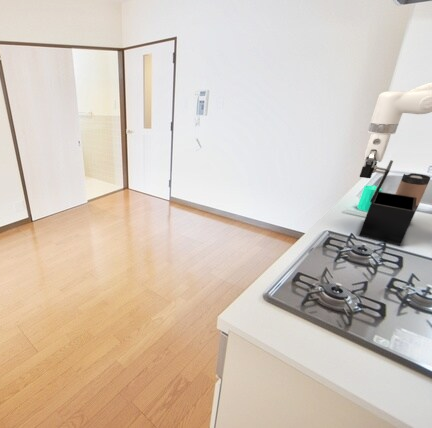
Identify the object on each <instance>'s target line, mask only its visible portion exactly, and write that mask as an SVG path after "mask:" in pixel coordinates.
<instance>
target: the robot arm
mask: <svg viewBox="0 0 432 428" xmlns="http://www.w3.org/2000/svg"><path fill="white" fill-rule="evenodd" d="M377 97H378V98H377V101H376V103H375V107H374V110H373V113H372V116H371V119H370V122H369V126H368V129H367V132H366V133H368V134H370V136H369V138H368V141H367V145H366V149H365V153H364V158H363V160H364V164H363V166H362V168H361V170H360V174H359V178H362V179H363V178H364V179H371V178H372V175H373V174H374V173H373V170H374V168H373V167H374V165H377V164H378V163H380V162H382V161H383V159H384V156H385V153H386V151H387V148H388V145H389V142H390V138H391V135H395V134H396V132H397V129H398V126H399V124H400V122H401V119H402V118H401V117H402V116H403V114H412V115H426V114H427V115H428V114H430V113H432V81H431V82H429V83H425V84H423V85H420V86H417V87H414V88H413V89H410V90H408V91H405V90H389V91H383V92H381V93H379V95H378V96H377Z"/></svg>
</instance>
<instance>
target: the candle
mask: <svg viewBox="0 0 432 428" xmlns="http://www.w3.org/2000/svg"><path fill="white" fill-rule="evenodd" d="M376 187H377V185H375V184H373V185H364V187H363V189H362V191H361V195H360V198H359V201H358V203H357V207H356V208H357V209H358V210H360V211H364V212H368V210H369V207H370V205H371V202H370V201H371V198H372V196H373V194H374V192H375V189H376ZM379 192H383V189H382V188H380V190H379Z"/></svg>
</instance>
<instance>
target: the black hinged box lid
mask: <svg viewBox="0 0 432 428" xmlns="http://www.w3.org/2000/svg"><path fill="white" fill-rule="evenodd" d="M393 163H394V160H390V161H389V162H388V164H387V166H386V167H385V168H384V167H380V166H378V165H377V164H376V165H374V167H373V168H374V170H373V173H372V174H374V173H376V174H377V173H378V174H382V176H381V178H380V180H379V182H378V184H377V185H376V186H377V187H376V189H375V192H374V194H373V196H372V198H371V201H370V202H372V203H373V201H374V199H375V197H376V195H377V194H378V192H379V190H380V188H381V187H382V186H383V184H384V182H385V180H386V179H387V177H388V174H389V173H390V171H391V168H392V165H393ZM381 189H382V188H381Z"/></svg>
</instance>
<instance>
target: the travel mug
mask: <svg viewBox="0 0 432 428" xmlns="http://www.w3.org/2000/svg"><path fill="white" fill-rule="evenodd" d="M430 181H431V176H430V175H425V174H421V173H416V172H415V173H414V172H413V173H409V174H405V173H403V175H402V177H401V180H400V181H399V184H398V186H397V189H396V191H395V194H397V195H403V196H410V197H416V198H417V200H416V210H417V209H418V207H419V206H420V203H421V202H422V199H423V196H424V194H425V192H426V190H427V188H428V185H429V183H430Z"/></svg>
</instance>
